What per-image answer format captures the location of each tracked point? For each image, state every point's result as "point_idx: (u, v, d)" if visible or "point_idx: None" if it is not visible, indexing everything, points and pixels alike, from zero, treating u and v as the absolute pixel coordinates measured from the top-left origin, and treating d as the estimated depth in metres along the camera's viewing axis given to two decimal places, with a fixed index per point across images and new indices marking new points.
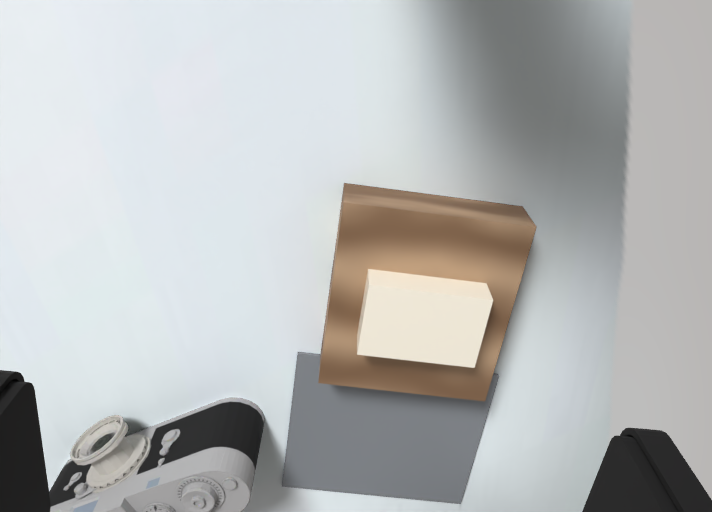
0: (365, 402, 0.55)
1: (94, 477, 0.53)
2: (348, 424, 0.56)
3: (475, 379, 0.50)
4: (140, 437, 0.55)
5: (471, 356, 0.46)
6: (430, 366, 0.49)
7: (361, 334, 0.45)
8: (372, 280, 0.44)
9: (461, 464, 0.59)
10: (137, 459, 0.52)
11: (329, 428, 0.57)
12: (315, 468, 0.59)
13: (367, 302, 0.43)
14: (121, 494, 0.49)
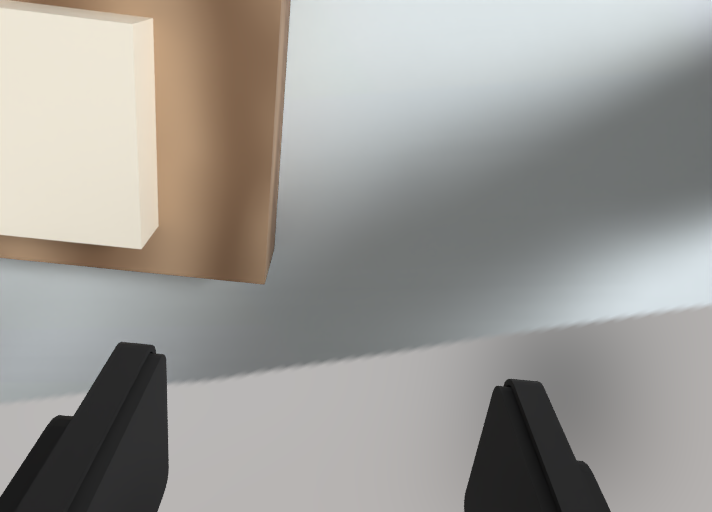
0: None
1: None
2: None
3: None
4: None
5: (19, 226, 0.25)
6: None
7: (13, 11, 0.22)
8: (139, 30, 0.23)
9: None
10: None
11: None
12: None
13: (92, 22, 0.22)
14: None
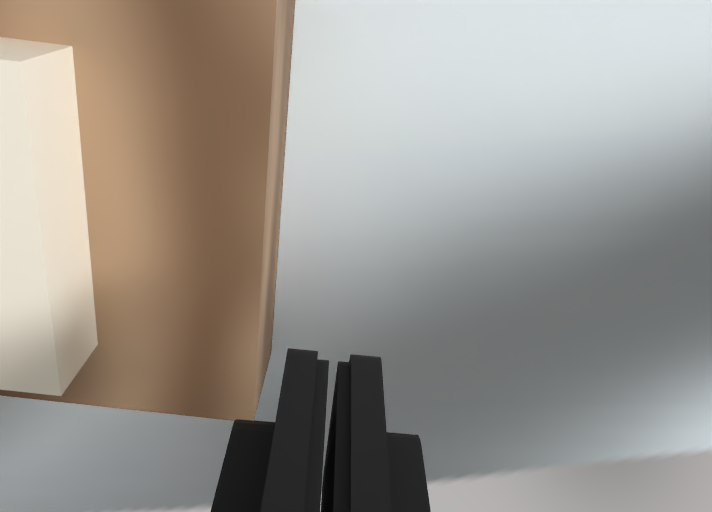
0: None
1: None
2: None
3: None
4: None
5: None
6: None
7: None
8: (39, 69, 0.14)
9: None
10: None
11: None
12: None
13: None
14: None
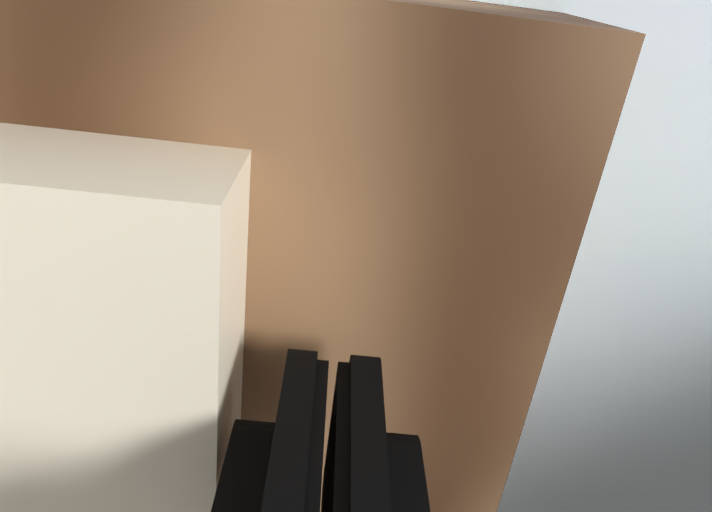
0: None
1: None
2: None
3: None
4: None
5: None
6: None
7: None
8: (231, 204, 0.08)
9: None
10: None
11: None
12: None
13: (107, 202, 0.08)
14: None
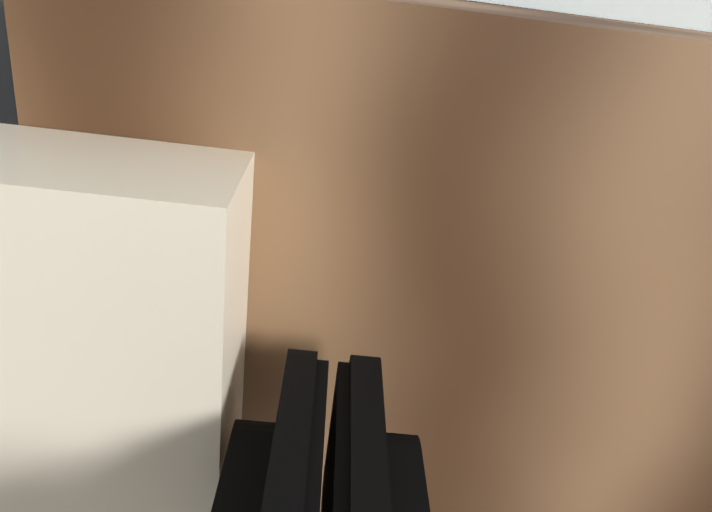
0: None
1: None
2: None
3: None
4: None
5: None
6: None
7: None
8: (236, 206, 0.09)
9: None
10: None
11: None
12: None
13: (114, 204, 0.08)
14: None
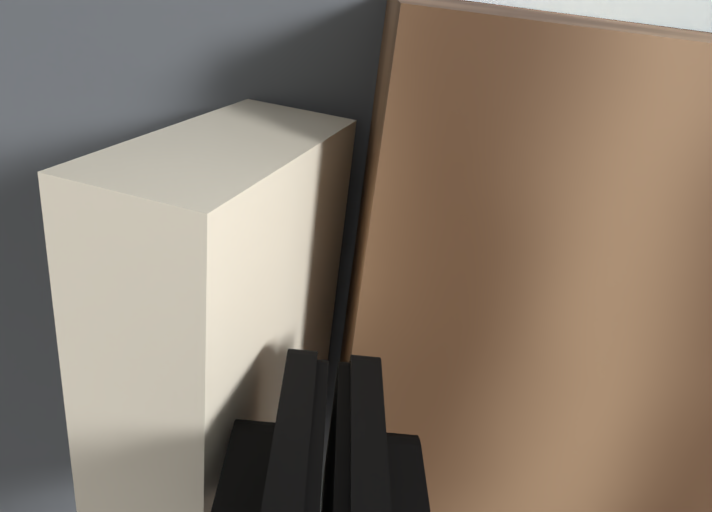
0: None
1: None
2: (39, 118, 0.13)
3: None
4: None
5: None
6: (470, 465, 0.13)
7: None
8: (88, 204, 0.08)
9: None
10: None
11: None
12: None
13: None
14: None
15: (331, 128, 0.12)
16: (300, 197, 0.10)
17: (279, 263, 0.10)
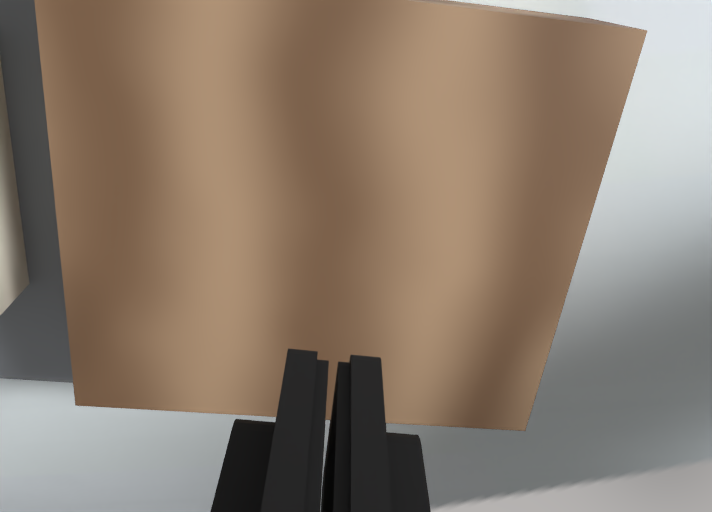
0: None
1: None
2: None
3: (138, 379, 0.20)
4: None
5: None
6: (156, 279, 0.19)
7: None
8: None
9: None
10: None
11: None
12: None
13: None
14: None
15: None
16: None
17: None
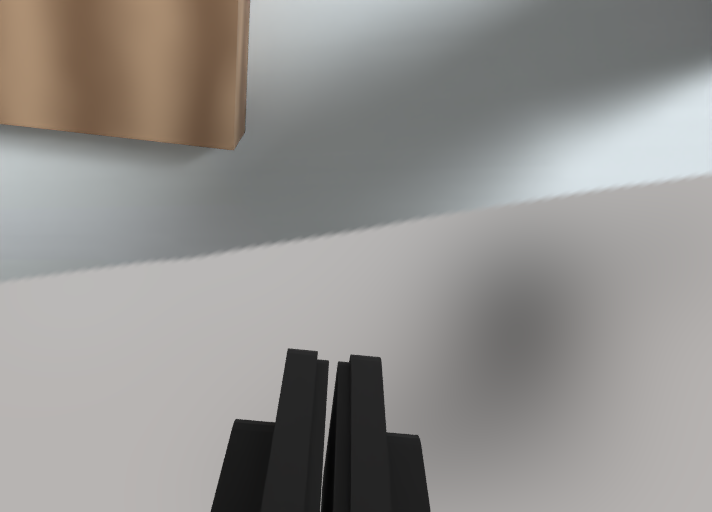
0: None
1: None
2: None
3: None
4: None
5: None
6: None
7: None
8: None
9: None
10: None
11: None
12: None
13: None
14: None
15: None
16: None
17: None
